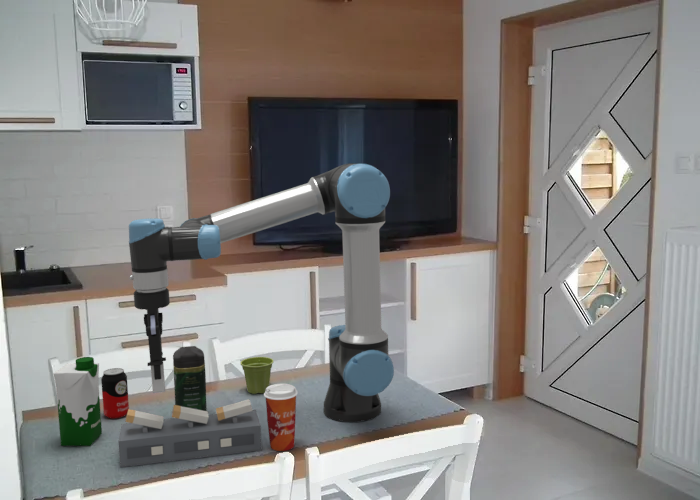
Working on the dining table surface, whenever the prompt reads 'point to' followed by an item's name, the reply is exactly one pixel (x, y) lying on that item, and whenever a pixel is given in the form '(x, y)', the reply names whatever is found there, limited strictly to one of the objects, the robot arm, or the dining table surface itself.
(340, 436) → the dining table surface
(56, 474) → the dining table surface
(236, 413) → the rocker
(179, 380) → the coffee jar
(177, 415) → the rocker
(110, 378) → the beverage can
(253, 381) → the plant pot
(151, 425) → the rocker
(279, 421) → the paper cup
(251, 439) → the console
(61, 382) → the milk carton
